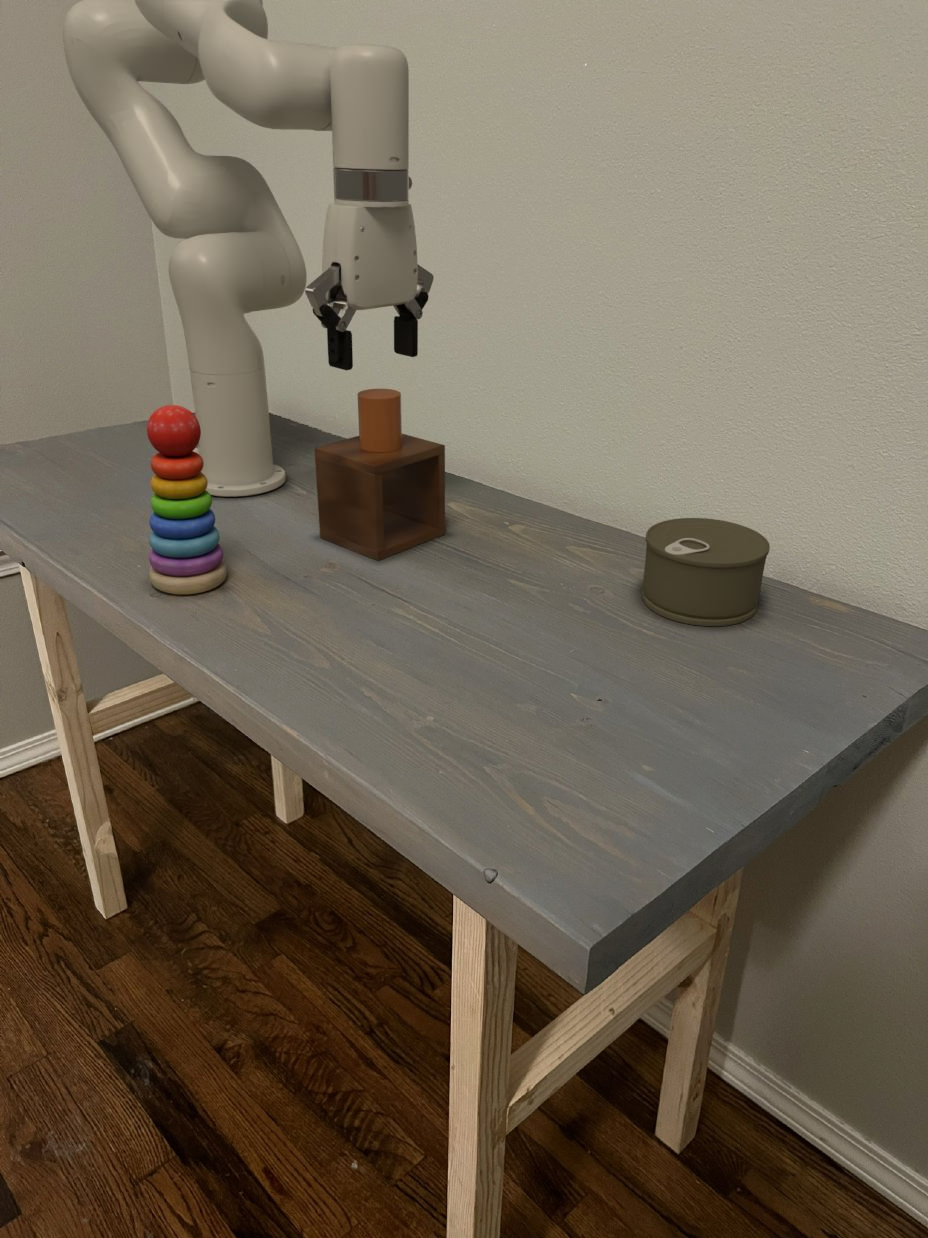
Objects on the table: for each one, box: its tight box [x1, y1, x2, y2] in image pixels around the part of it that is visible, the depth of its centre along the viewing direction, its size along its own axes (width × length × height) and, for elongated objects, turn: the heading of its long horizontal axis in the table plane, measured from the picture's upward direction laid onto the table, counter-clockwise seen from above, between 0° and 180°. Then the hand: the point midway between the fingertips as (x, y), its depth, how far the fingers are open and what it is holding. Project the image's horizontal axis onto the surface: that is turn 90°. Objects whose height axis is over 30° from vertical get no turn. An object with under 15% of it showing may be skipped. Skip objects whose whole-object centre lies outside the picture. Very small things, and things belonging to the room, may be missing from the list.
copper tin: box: [357, 388, 403, 452], centre depth 104 cm, size 5×5×6 cm
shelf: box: [314, 433, 446, 562], centre depth 108 cm, size 10×11×11 cm
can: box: [641, 517, 770, 627], centre depth 94 cm, size 12×12×7 cm
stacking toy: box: [146, 404, 228, 595], centre depth 94 cm, size 8×8×19 cm
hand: (374, 361), depth 101 cm, fingers open, 9 cm apart
